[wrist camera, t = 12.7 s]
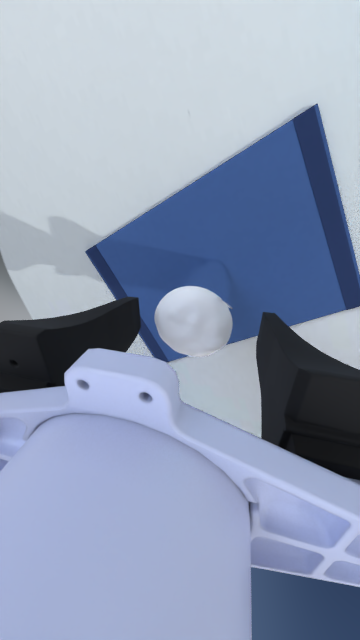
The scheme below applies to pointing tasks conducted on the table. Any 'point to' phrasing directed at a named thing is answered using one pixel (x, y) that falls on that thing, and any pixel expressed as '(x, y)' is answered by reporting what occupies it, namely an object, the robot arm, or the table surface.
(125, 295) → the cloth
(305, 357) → the robot arm
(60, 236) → the table surface
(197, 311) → the milkshake
